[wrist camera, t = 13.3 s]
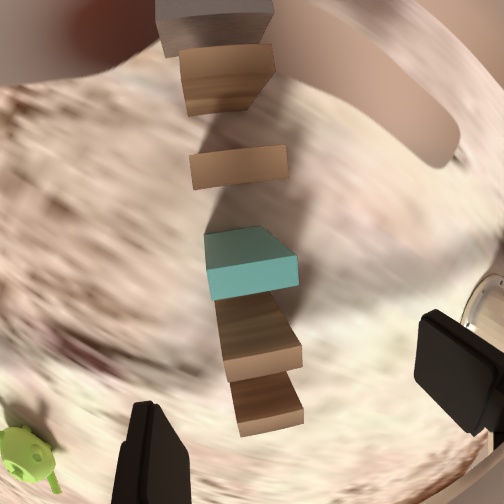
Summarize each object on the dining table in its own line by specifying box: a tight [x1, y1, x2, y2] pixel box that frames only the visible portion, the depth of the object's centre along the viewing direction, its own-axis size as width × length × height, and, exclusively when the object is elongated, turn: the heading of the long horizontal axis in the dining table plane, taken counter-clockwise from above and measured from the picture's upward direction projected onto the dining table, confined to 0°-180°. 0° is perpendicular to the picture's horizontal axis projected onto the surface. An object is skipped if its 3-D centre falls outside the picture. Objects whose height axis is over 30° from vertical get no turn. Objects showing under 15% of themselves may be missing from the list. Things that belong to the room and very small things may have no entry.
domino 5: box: [230, 371, 304, 437], centre depth 24 cm, size 2×5×10 cm, turn 97°
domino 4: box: [214, 291, 303, 382], centre depth 23 cm, size 2×5×10 cm, turn 97°
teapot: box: [0, 425, 62, 494], centre depth 24 cm, size 11×12×8 cm
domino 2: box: [189, 145, 289, 190], centre depth 19 cm, size 2×5×10 cm, turn 97°
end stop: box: [155, 0, 274, 58], centre depth 17 cm, size 8×3×7 cm, turn 97°
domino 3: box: [204, 226, 299, 301], centre depth 21 cm, size 2×5×10 cm, turn 97°
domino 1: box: [179, 44, 276, 117], centre depth 18 cm, size 2×5×10 cm, turn 96°
